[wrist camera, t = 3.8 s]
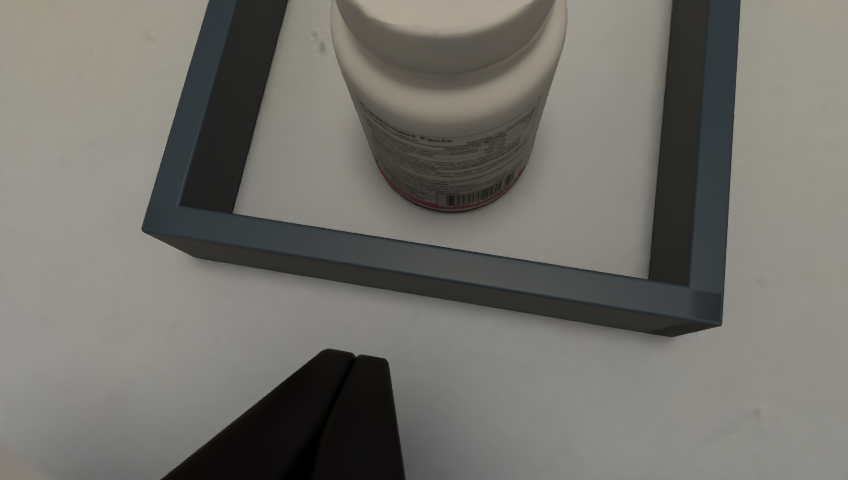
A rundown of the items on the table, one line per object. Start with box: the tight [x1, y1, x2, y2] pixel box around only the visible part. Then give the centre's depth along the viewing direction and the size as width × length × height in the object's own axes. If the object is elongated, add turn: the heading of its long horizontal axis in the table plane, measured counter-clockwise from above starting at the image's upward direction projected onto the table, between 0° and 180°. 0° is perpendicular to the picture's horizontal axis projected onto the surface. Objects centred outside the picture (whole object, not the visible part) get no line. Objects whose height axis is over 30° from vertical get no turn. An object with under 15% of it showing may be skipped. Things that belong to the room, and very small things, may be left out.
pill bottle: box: [331, 0, 567, 211], centre depth 13 cm, size 5×5×8 cm
